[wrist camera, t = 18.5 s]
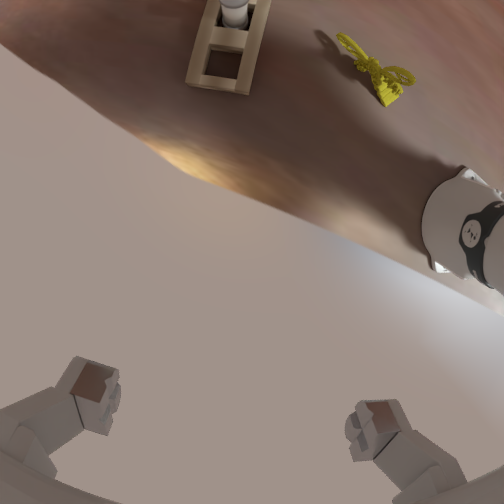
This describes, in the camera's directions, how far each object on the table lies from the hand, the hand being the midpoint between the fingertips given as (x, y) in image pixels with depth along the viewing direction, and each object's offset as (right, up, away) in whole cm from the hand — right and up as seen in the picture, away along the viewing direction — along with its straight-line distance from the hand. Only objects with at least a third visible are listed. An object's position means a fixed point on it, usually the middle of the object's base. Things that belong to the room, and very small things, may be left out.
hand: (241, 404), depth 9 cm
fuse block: (-3, +32, +24) cm, 40 cm away
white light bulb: (-2, +35, +23) cm, 42 cm away
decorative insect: (+16, +31, +25) cm, 43 cm away
